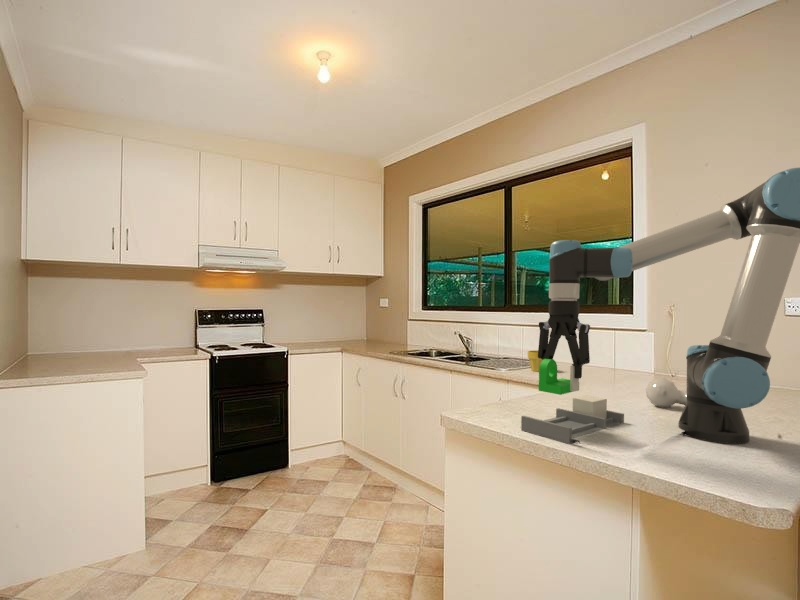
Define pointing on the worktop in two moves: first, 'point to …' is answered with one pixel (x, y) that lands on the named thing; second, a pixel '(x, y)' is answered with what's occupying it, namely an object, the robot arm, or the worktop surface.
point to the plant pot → (534, 360)
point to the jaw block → (590, 406)
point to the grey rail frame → (569, 424)
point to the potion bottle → (665, 393)
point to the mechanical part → (552, 379)
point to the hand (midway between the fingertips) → (562, 388)
